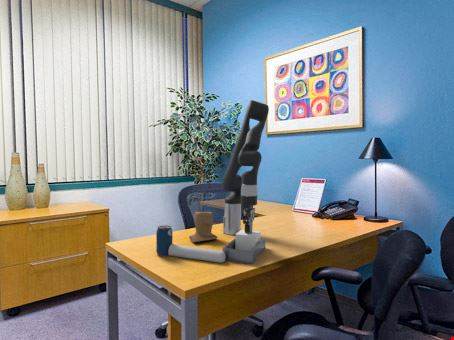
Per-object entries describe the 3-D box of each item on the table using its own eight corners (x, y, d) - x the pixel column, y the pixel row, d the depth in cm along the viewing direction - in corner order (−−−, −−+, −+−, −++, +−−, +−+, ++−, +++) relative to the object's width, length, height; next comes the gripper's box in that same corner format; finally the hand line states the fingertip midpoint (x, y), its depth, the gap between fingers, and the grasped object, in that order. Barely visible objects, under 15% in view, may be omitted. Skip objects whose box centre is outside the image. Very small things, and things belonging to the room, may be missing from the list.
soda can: (175, 253, 135) (175, 226, 135) (162, 257, 130) (162, 229, 130) (165, 250, 140) (166, 224, 140) (153, 253, 135) (153, 226, 134)
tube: (228, 251, 128) (175, 244, 136) (224, 250, 123) (169, 243, 132) (226, 264, 127) (173, 256, 135) (222, 264, 122) (167, 256, 130)
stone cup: (208, 235, 168) (208, 208, 167) (220, 240, 158) (220, 211, 158) (183, 239, 159) (183, 210, 158) (194, 245, 149) (195, 214, 149)
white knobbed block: (235, 249, 139) (235, 222, 139) (241, 244, 148) (241, 219, 147) (255, 251, 136) (256, 224, 135) (260, 246, 144) (261, 220, 144)
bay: (222, 260, 128) (222, 248, 128) (239, 244, 151) (239, 234, 151) (252, 264, 124) (252, 251, 124) (265, 247, 146) (265, 237, 146)
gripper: (245, 192, 149) (244, 227, 149) (236, 195, 135) (235, 234, 136) (260, 193, 146) (260, 229, 147) (253, 196, 133) (252, 236, 134)
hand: (248, 231), depth 141 cm, fingers closed on white knobbed block, 3 cm apart
